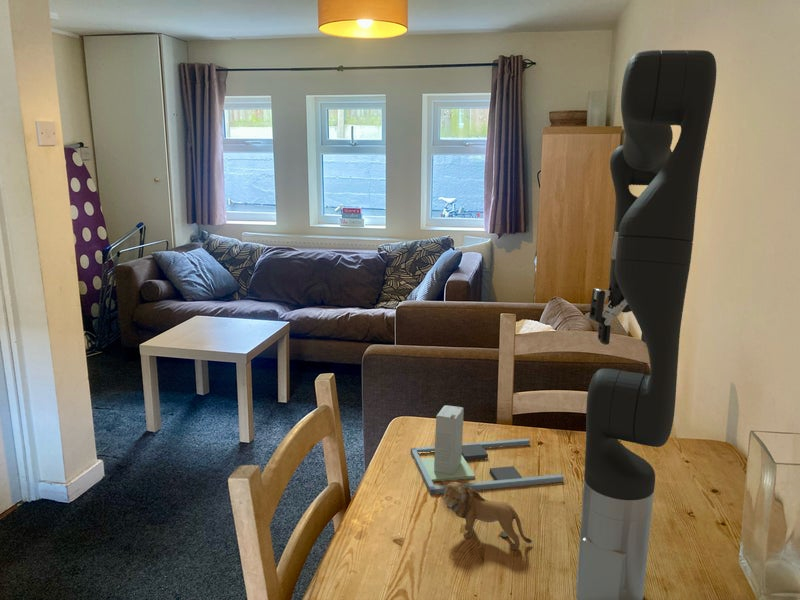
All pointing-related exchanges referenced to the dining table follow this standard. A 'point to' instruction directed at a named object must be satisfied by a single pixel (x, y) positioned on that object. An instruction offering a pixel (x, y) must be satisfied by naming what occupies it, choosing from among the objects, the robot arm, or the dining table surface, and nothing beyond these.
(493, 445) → the lane rails
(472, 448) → the grey slab
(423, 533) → the dining table surface
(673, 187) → the robot arm
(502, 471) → the grey square block
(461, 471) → the pad
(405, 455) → the dining table surface
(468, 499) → the lion figurine
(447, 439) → the skincare box
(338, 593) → the dining table surface
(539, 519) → the dining table surface
